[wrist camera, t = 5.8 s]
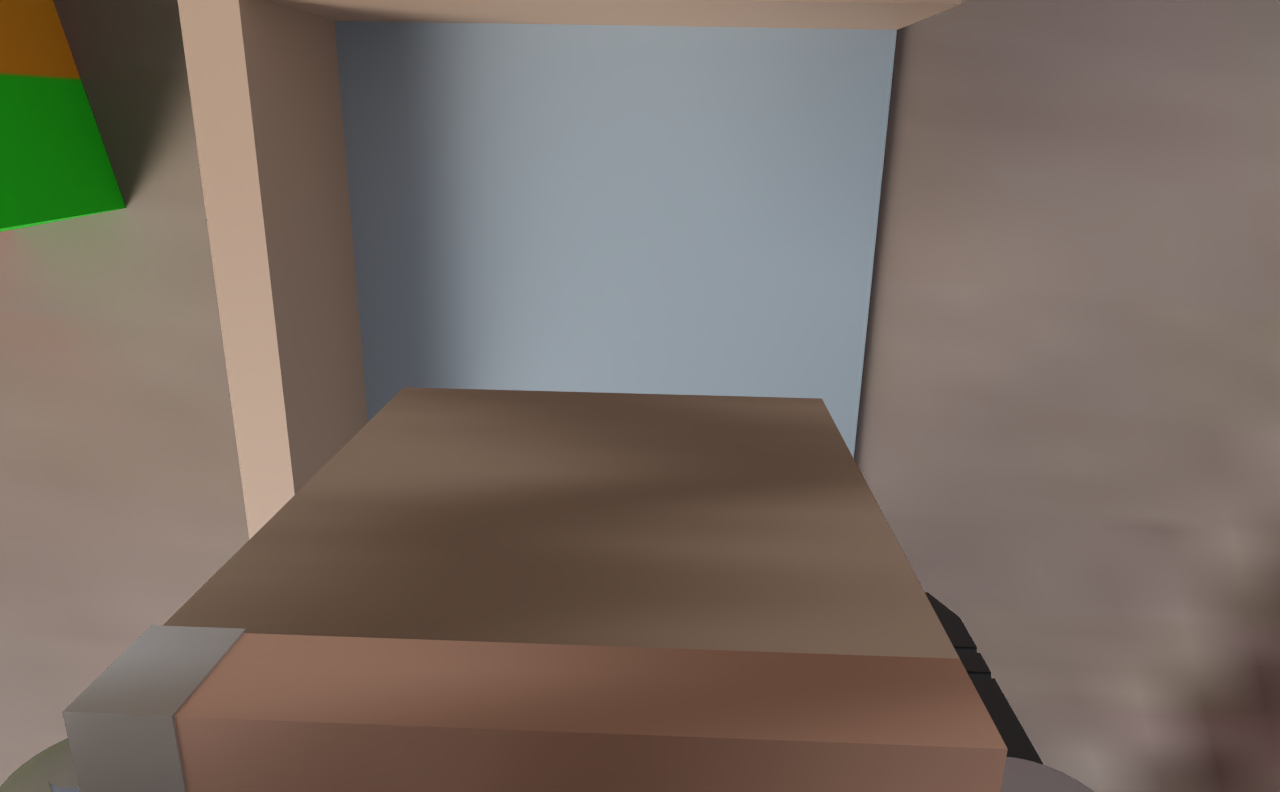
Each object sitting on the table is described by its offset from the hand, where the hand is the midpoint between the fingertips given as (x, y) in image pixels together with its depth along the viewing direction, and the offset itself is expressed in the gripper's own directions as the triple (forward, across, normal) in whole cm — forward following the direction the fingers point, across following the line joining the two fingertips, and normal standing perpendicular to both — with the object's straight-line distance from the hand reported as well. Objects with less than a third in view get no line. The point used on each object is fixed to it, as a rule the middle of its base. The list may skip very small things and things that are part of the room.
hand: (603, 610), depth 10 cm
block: (+1, 0, 0) cm, 1 cm away
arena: (+14, +2, -1) cm, 14 cm away
